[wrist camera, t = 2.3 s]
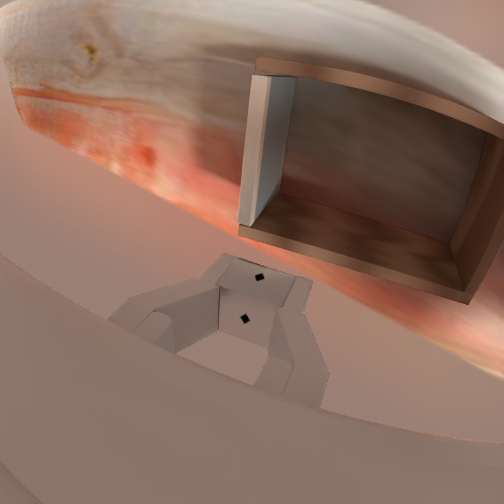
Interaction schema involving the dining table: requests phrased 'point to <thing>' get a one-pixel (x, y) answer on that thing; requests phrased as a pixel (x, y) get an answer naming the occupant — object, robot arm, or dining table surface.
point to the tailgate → (264, 143)
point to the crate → (387, 236)
